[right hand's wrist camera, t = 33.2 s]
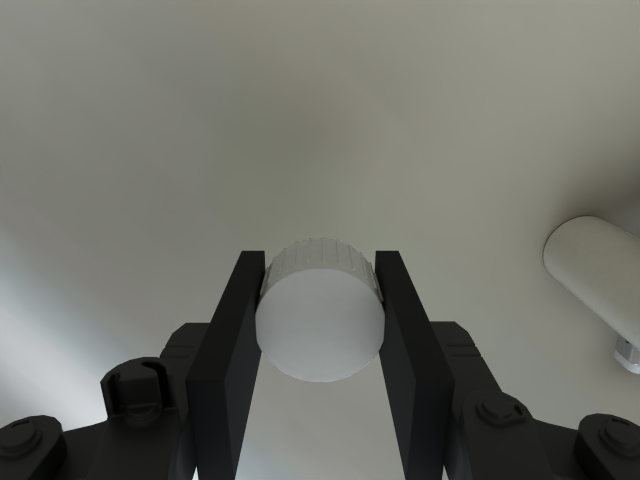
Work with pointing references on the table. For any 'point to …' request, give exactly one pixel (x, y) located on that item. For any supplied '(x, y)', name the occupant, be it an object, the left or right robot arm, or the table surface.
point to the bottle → (599, 270)
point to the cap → (320, 311)
